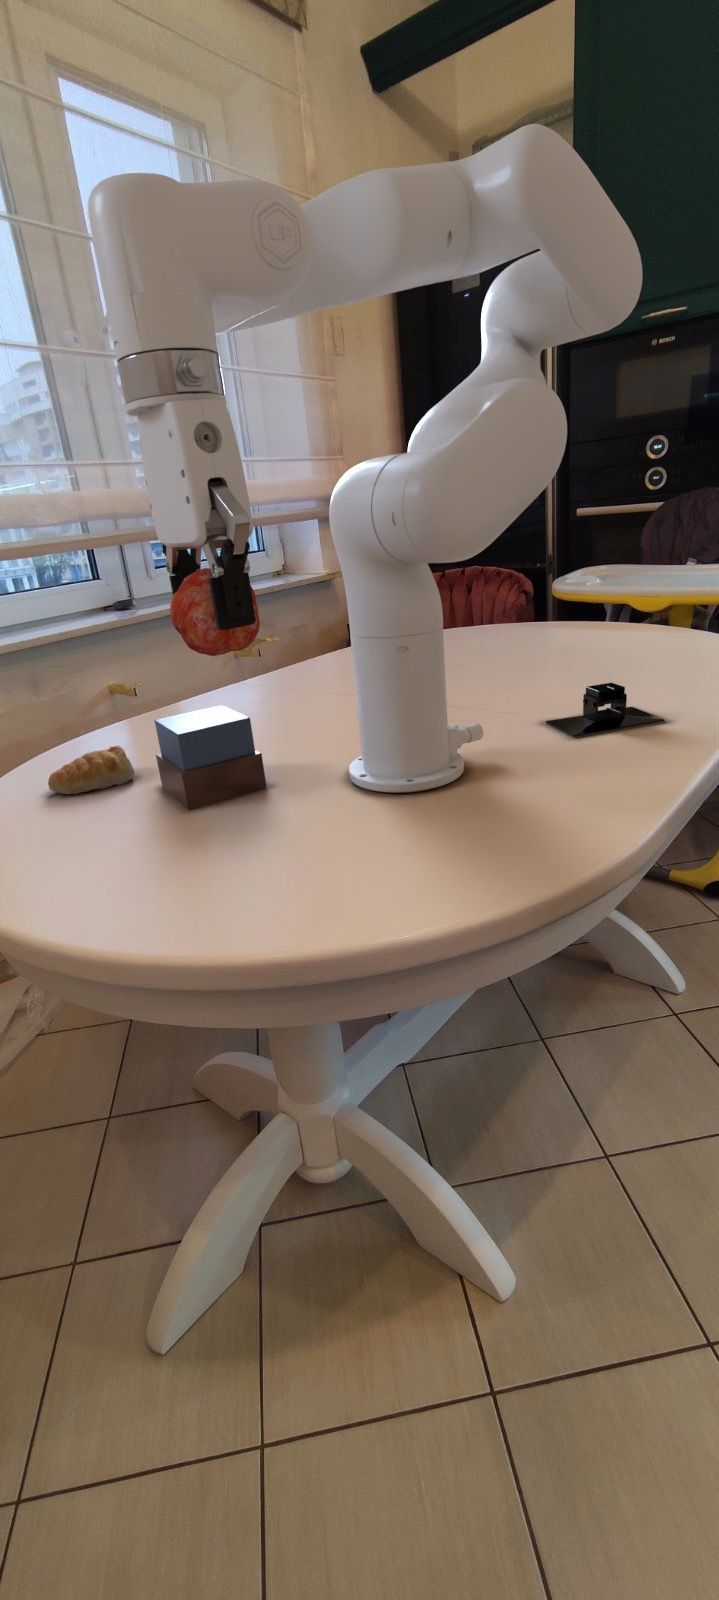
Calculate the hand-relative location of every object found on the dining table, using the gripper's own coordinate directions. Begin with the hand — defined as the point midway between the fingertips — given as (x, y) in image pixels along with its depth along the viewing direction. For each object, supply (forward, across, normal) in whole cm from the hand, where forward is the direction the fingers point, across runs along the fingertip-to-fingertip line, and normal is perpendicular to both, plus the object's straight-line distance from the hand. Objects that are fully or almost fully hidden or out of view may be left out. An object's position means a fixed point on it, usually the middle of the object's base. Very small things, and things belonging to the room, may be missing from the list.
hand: (215, 622), depth 61 cm
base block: (+20, +14, -2) cm, 24 cm away
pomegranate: (+3, 0, 0) cm, 3 cm away
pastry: (+20, +27, +7) cm, 34 cm away
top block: (+16, +14, -2) cm, 21 cm away
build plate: (+21, -3, -48) cm, 52 cm away
